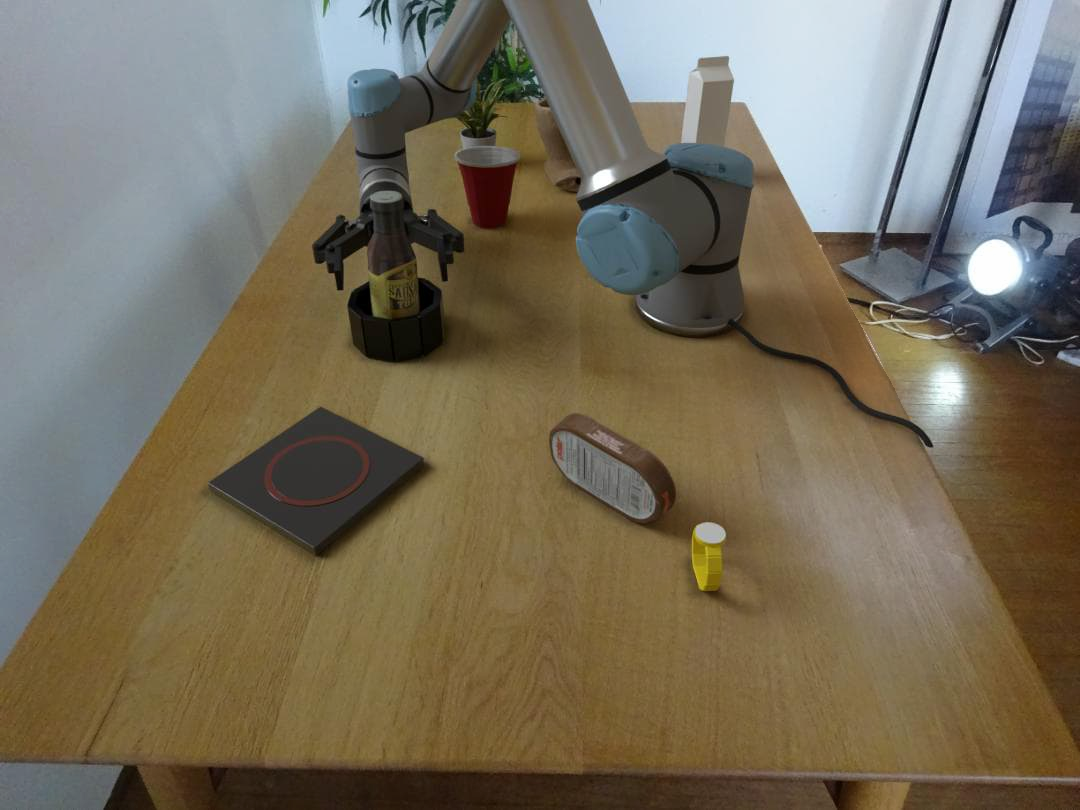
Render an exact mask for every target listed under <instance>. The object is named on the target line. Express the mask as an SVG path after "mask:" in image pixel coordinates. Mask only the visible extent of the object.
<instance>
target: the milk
mask: <svg viewBox="0 0 1080 810" xmlns="http://www.w3.org/2000/svg"><path fill="white" fill-rule="evenodd" d="M729 63H730V56H728V55H723V56H721V55H720V56H710V57H709V56H707V57H699V58H698V60H697V64H696V65H697V66H696V67H695V68H694V69H692V70H691V71H689V73H688V80H687V88H686V89H687V90H686V98H685V104H684V105H685V108H684V114H683V115H684V116H683V123H682V131H681V139H680V143H703V144H711V145H717V146H722V147H725V143H726V136H727V129H728V123H729V117H730V110H731V102H732V96H733V89H734V83H735V78H734V75H733V73H732V71H731V68H730V66H729Z"/></svg>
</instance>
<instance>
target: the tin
mask: <svg viewBox="0 0 1080 810" xmlns="http://www.w3.org/2000/svg"><path fill="white" fill-rule="evenodd" d="M548 435H549V436H548V445H549V446H548V447H549V451H550V457H551V459H552V461H553V463H554V464H555V466H556V467H557V469H558V470H559V472H560V473H561V475H563V477H565V478H566V479H567V480H568V481H569V482H570V483H571V484H572V485H573V486H575V487H577V488H578V489H581V490H582V491H583V492H585V493H587V494H588V495H590V496H592V497H593V498H595V499H596V500H598V501H599V502H601V503H603V504H604V505H606V506H607V507H609V508H611V509H612V510H613V511H615V512H616V513H618V514H620V515H622V516H623V517H625V518H626V519H628V520H630V521H632V522H635V523H639V524H651V523H654V522H655V521H657V520H658V519H659V518H661V517H662V516H663V515H664V514H665V513H666V512H667V511H670V510H671V509H672V508H673V507H674V505H675V503H676V500H677V488H676V484H675V482H674V479H673V476H672V475H671V473H670V471H669V470H668V468H667V467H666V466H665V464H664V463H663V461H661V459H659V458H658V456H656V455H655V453H653V452H651V451H650V450H649V449H647V448H646V447H644V446H642V445H640V444H638V442H636V441H633V440H631V439H630V438H628V437H626V436H625V435H623V434H620V433H619V432H618V431H615V430H614V429H612V428H610V427H608V426H607V425H605V424H603V423H601V422H600V421H598V420H596V419H595V418H593V417H591V416H590V415H587V414H583V413H580V412H572V413H568V414H567V415H566V416H565V417H564V418H563V419H562V420H561V421H559V422H558V423H556V425H554V427H552V428H551V429H550V431H549V434H548Z"/></svg>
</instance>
